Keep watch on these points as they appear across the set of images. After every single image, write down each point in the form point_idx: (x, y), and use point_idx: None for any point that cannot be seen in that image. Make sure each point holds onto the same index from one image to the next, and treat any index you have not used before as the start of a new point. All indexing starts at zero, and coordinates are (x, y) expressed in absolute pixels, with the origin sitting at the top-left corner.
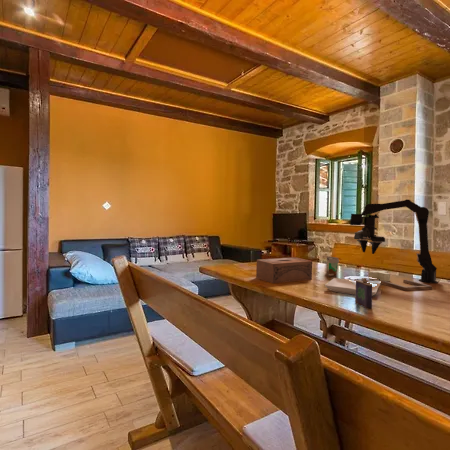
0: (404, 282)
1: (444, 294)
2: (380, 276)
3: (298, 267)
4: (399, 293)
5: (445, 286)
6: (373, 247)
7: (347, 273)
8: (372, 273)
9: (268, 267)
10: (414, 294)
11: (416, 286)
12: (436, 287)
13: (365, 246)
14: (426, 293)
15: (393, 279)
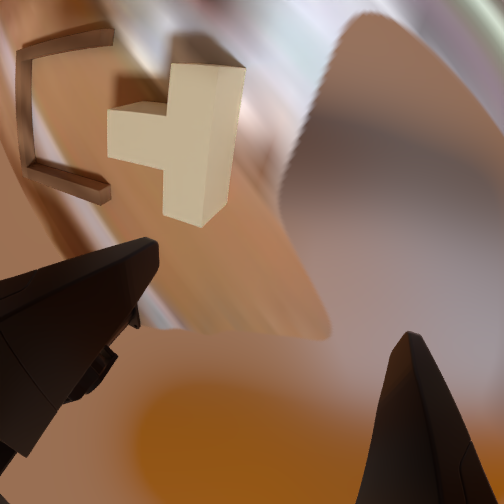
0: (104, 184)
1: (2, 143)
2: (158, 108)
3: None
4: (20, 6)
5: None
6: (19, 282)
7: (488, 109)
8: (181, 63)
9: None
10: (7, 48)
11: (19, 112)
12: (50, 218)
13: (375, 472)
14: (7, 98)
15: None
